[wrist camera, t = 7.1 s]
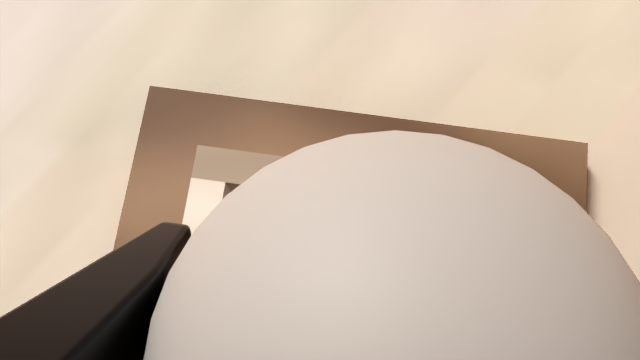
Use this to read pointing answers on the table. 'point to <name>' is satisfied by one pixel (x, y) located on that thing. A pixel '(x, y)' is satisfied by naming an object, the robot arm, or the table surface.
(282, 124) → the socket board
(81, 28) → the table surface
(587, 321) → the lightbulb
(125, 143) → the table surface
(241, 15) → the table surface
